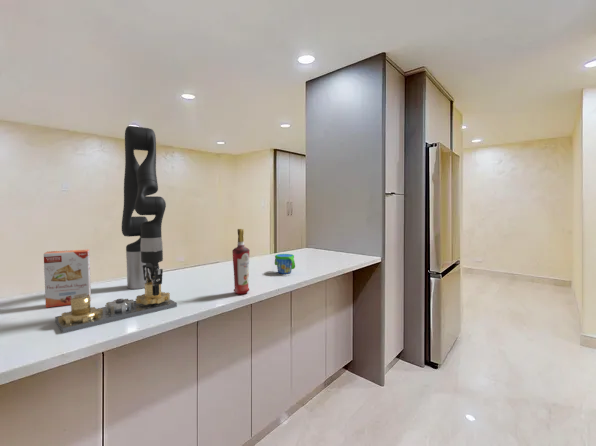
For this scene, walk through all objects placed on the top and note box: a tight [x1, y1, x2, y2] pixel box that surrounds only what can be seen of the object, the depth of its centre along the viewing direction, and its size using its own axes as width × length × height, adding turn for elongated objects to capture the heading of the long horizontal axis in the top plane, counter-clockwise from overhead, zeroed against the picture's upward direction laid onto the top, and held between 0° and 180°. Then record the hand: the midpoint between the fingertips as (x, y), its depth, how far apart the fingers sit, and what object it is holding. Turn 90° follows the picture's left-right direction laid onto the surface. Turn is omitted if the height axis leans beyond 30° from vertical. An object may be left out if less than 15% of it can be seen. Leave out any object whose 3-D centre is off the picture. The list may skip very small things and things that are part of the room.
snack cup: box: [274, 253, 296, 275], centre depth 178 cm, size 16×10×10 cm
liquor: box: [232, 228, 250, 295], centre depth 137 cm, size 7×7×28 cm
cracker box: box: [43, 249, 92, 309], centre depth 123 cm, size 14×6×21 cm, turn 117°
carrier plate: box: [54, 296, 178, 334], centre depth 112 cm, size 14×35×8 cm, turn 135°
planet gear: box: [135, 282, 171, 305], centre depth 120 cm, size 12×12×6 cm
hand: (153, 293), depth 120 cm, fingers closed on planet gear, 5 cm apart
